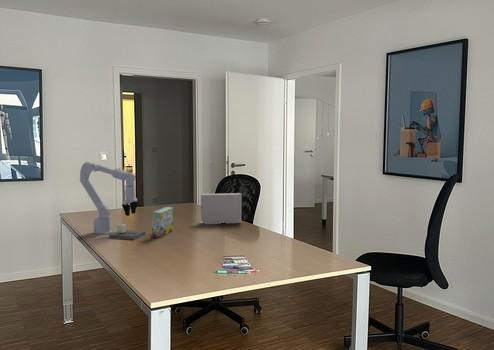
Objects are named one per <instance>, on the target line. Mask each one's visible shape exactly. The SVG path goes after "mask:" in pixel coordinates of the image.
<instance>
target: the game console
mask: <svg viewBox="0 0 494 350" xmlns="http://www.w3.org/2000/svg"><path fill="white" fill-rule="evenodd" d="M242 195H243V194H242V193H241V192H236V193H235V192H234V193H233V192H231V193H200V220H201V221H202V222H203V224H205V225H217V224H218V225H220V224H221V223H226V224H241V223H242V221H243V220H242V209H243V207H242V200H243V196H242Z"/></svg>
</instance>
